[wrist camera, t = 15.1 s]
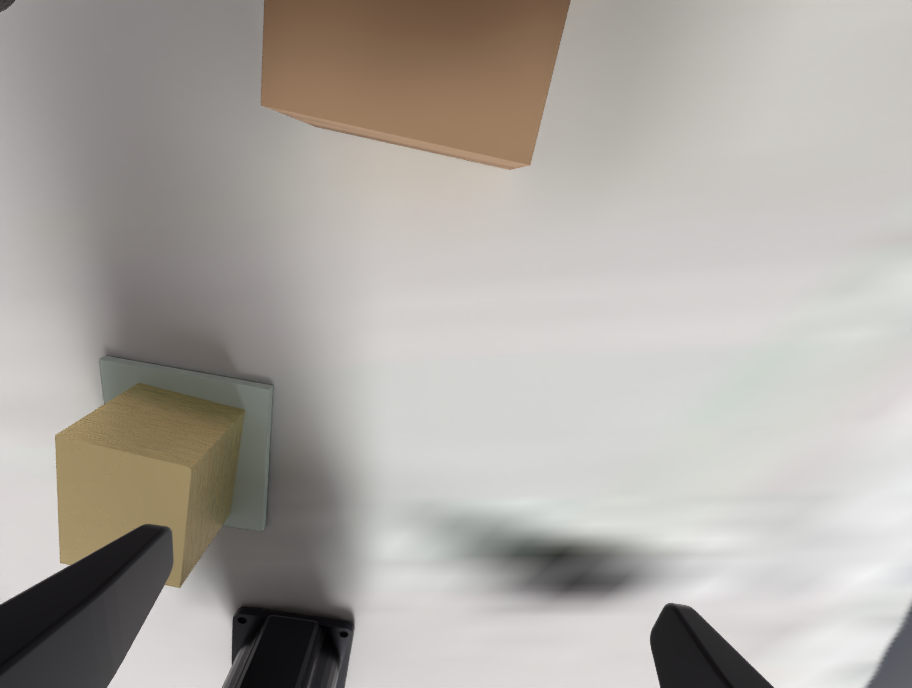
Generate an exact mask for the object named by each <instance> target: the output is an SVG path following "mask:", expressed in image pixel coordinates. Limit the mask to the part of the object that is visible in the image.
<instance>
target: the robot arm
mask: <svg viewBox="0 0 912 688" xmlns="http://www.w3.org/2000/svg"><path fill="white" fill-rule="evenodd" d="M173 562H174V557H173V536H172V530H171V529H170V528H169V527H167V526H161V525H154V524H144V525H141V526H139V527H137V528H136V529H134V530H132V531H130V532H128V533H127V534H125V535H123V536H121V537H120V538H118V539H116V540H114V541H112V542H111V543H109V544H107V545H105V546H104V547H102V548H100V549H98V550H96V551H95V552H93V553H91V554H89V555H88V556H86V557H84V558H82V559H80V560H79V561H77V562H75V563H73V564H72V565H70V566H68V567H66V568H64V569H63V570H61V571H59V572H57V573H56V574H54V575H52V576H50V577H48V578H47V579H45V580H43V581H41V582H40V583H38V584H36V585H34V586H32V587H31V588H29V589H27V590H25V591H24V592H22V593H20V594H18V595H16V596H15V597H13V598H11V599H9V600H8V601H6V602H4V603H2V604H0V688H107V686H108V685H109V683H110V682H111V680H112V679H113V677H114V675H115V674H116V672H117V670H118V668H119V667H120V665H121V663H122V661H123V660H124V658H125V656H126V654H127V652H128V651H129V649H130V647H131V645H132V643H133V641H134V640H135V638H136V636H137V634H138V632H139V630H140V629H141V627H142V625H143V623H144V621H145V620H146V618H147V616H148V614H149V612H150V610H151V609H152V607H153V605H154V603H155V601H156V599H157V598H158V596H159V594H160V592H161V590H162V589H163V587H164V585H165V583H166V581H167V579H168V578H169V576H170V573H171V571H172V567H173ZM354 629H355V628H354V625H353V624H352V623H351V622H348V621H342V620H334V619H327V618H320V617H313V616H306V615H299V614H292V613H285V612H277V611H270V610H263V609H256V608H249V607H241V608H239V609H237V611H236V613H235V615H234V617H233V629H232V667H231V669H230V671H229V673H228V675H227V678H226V680H225V682H224V684H223V686H222V688H345V682H346V677H347V671H348V665H349V659H350V653H351V647H352V641H353V635H354ZM650 645H651V650H652V654H653V658H654V663H655V667H656V671H657V675H658V680H659V684H660V688H774V687H773V686H772V685H771V684H770V683H769V682H768V681H767V680H766V679H765V678H764V677H763V676H762V675H761V674H760V673H759V672H758V671H757V670H755V669H754V668H753V667H752V666H751V665H750V664H749V663H748V662H747V661H746V660H745V659H744V658H743V657H742V656H741V655H740V654H739V653H738V652H737V651H736V650H735V649H734V648H733V647H732V646H731V645H730V644H729V643H728V642H727V641H726V640H725V639H724V638H723V637H722V636H721V635H720V634H719V633H718V632H717V631H716V630H715V629H714V628H713V627H711V626H710V625H709V624H708V623H707V622H706V621H705V620H704V619H703V618H702V617H701V616H700V615H699V614H698V613H697V612H696V611H695V610H694V609H693V608H691V607H689V606H687V605H681V604H674V603H668V604H666V605H665V606H664V608H663V610H662V612H661V613H660V615H659V617H658V619H657V621H656V623H655V625H654V627H653V628H652V631H651V635H650Z"/></svg>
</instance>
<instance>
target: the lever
mask: <svg viewBox="0 0 912 688" xmlns="http://www.w3.org/2000/svg"><path fill="white" fill-rule="evenodd" d="M14 1H15V0H0V12H2V11H4V10H6V9H7V8H8V7H9V6H11V5H12V4H13V2H14Z"/></svg>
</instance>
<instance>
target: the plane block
mask: <svg viewBox="0 0 912 688" xmlns="http://www.w3.org/2000/svg"><path fill="white" fill-rule="evenodd" d="M569 4H570V0H264V26H263V56H262V86H261V105H262V106H264V107H267V108H269V109H272V110H275V111H277V112H280V113H282V114H285V115H287V116H290V117H292V118H295V119H298V120H300V121H303V122H305V123H308V124H310V125H313V126H315V127H319V128H324V129H328V130H333V131H337V132H342V133H346V134H351V135H355V136H360V137H364V138H369V139H373V140H378V141H382V142H387V143H391V144H396V145H400V146H405V147H410V148H414V149H419V150H423V151H428V152H432V153H437V154H441V155H446V156H450V157H455V158H459V159H464V160H468V161H473V162H477V163H482V164H486V165H491V166H495V167H500V168H504V169H509V170H511V169H515V168H520V167H524V166H529V165H530V164H531V160H532V155H533V151H534V147H535V143H536V139H537V135H538V131H539V127H540V123H541V119H542V115H543V111H544V106H545V102H546V98H547V94H548V90H549V86H550V82H551V78H552V74H553V70H554V66H555V61H556V57H557V53H558V49H559V45H560V41H561V37H562V33H563V29H564V25H565V21H566V17H567V12H568V8H569Z"/></svg>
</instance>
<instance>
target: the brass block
mask: <svg viewBox="0 0 912 688" xmlns="http://www.w3.org/2000/svg"><path fill="white" fill-rule="evenodd" d="M244 416H245V410H244V409H240V408H236V407H232V406H228V405H224V404H220V403H216V402H212V401H209V400H205V399H201V398H197V397H193V396H189V395H185V394H181V393H177V392H173V391H169V390H165V389H161V388H158V387H154V386H150V385H146V384H142V383H137V384H136V385H134V386H132V387H131V388H129V389H128V390H126V391H125V392H123V393H121V394H120V395H118V396H117V397H115V398H113V399H112V400H110V401H109V402H107V403H106V404H104V405H102V406H101V407H99V408H98V409H96V410H94V411H93V412H91V413H90V414H88V415H87V416H85V417H83V418H82V419H80V420H79V421H77V422H75V423H74V424H72V425H71V426H69V427H68V428H66V429H64V430H63V431H61V432H60V433H58V434H56V435H55V444H56V469H57V495H58V520H59V546H60V563H63V564H67V565H72V564H73V563H75V562H77V561H79V560H80V559H82V558H84V557H86V556H88V555H89V554H91V553H93V552H95V551H96V550H98V549H100V548H102V547H104V546H105V545H107V544H109V543H111V542H112V541H114V540H116V539H118V538H120V537H121V536H123V535H125V534H127V533H128V532H130V531H132V530H134V529H136V528H137V527H139V526H141V525H144V524H154V525H161V526H167V527H169V528H170V529H171V530H172V536H173V557H174V562H173V567H172V571H171V573H170V576H169V578H168V579H167V581H166V583H165V585H168V586H173V587H178V588H180V587H181V586H182V584H183V583H184V581H185V580H186V578H187V577H188V575H189V574H190V572H191V571H192V569H193V568H194V566H195V565H196V564H197V562H198V561H199V559H200V558H201V556H202V555H203V553H204V552H205V550H206V549H207V547H208V546H209V544H210V543H211V541H212V540H213V539H214V537H215V536H216V534H217V533H218V531H219V530H220V528H221V527H222V525H223V524H224V522H225V521H226V519H227V518H228V517H229V515H230V512H231V505H232V499H233V492H234V485H235V478H236V471H237V464H238V457H239V450H240V443H241V436H242V429H243V423H244Z"/></svg>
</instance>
